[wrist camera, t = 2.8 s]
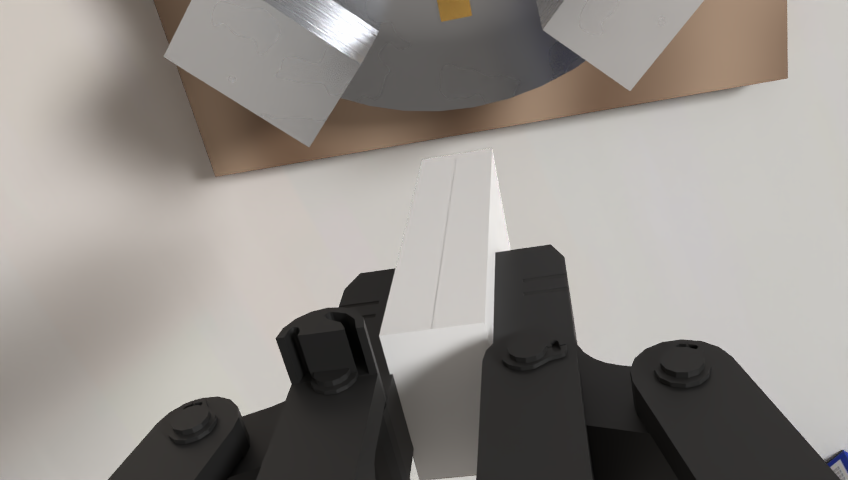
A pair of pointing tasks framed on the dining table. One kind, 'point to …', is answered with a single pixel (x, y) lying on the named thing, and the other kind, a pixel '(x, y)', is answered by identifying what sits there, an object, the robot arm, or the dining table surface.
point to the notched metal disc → (410, 50)
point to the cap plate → (564, 96)
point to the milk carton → (840, 465)
